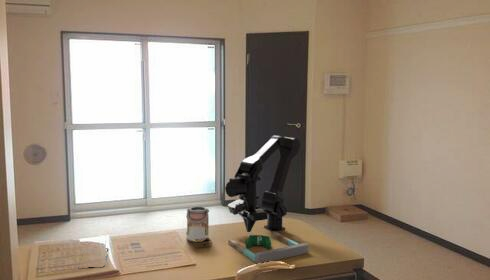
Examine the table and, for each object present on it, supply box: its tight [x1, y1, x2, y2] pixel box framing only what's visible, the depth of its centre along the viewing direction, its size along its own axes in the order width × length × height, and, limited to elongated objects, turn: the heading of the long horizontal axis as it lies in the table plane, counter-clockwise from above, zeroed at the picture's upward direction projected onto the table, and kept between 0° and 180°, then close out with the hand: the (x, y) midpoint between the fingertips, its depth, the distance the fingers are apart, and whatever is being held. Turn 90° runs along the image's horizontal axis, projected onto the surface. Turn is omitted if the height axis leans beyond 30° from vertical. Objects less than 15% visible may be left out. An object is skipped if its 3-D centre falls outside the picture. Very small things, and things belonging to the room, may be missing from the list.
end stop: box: [254, 242, 309, 264], centre depth 146 cm, size 2×21×3 cm, turn 120°
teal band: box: [242, 239, 299, 262], centre depth 151 cm, size 8×21×2 cm, turn 120°
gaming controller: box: [245, 232, 272, 250], centre depth 157 cm, size 9×4×6 cm
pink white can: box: [186, 206, 210, 242], centre depth 161 cm, size 9×8×12 cm
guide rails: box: [227, 231, 292, 254], centre depth 159 cm, size 11×21×2 cm, turn 120°
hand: (248, 231), depth 166 cm, fingers closed
